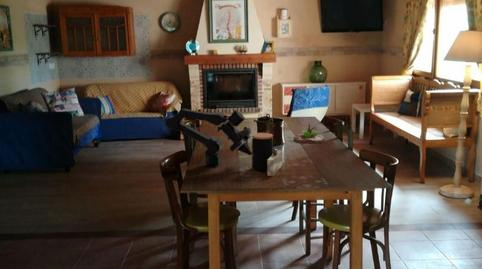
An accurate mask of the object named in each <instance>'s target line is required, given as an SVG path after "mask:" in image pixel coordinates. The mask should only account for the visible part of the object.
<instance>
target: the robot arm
mask: <svg viewBox="0 0 482 269" xmlns="http://www.w3.org/2000/svg"><path fill="white" fill-rule="evenodd" d="M184 118H189V119H194V120H198V121H199V120H200V121H206V122H208V123H210V124H211V125H215V126H217V133H218V132H221V131H222V132H223V133H224V134H225V135H226V136H227V139H228V141H229V140H230V141H231V142H232V144H231V145H230V146H229V150H230V151H231V152H232V153H233V152H234V151H236V150H237V151H239V152H242V153H244V154H246V155H249V156H252V149H251V148H250V146H249V139H251V137H252V135H250V134H252V132H251V131H252V130H251V127H249V126H247V125H246V126H243V129H242V130H239V129H236V128H235V127H239V126H240V125H241V124H242V122H244V120H246V118H245V116H244V115H243V113H240V112H239V111H238V110H237V109H235V110H234V111H233V112H232V114H230V115H225V114H224V113H222V112H204V111H199V110H193V109H187V108H182V109H181V110H180V111H179V112H177V113H176V114H175V115H171V116H170V117H168V118H167V119H165V126H166V128H168V129H171V130H173V131H177V132H178V131H179V132H181V133H183V134H184V135H186V136H188V137H190V138H191V139H194V140H196V141H197V142H199V143H201V144H202V145H204V147H205V148H206V150H205V151H204V154H205V164H204V166H205V167H211V168H212V167H213V168H216V167H218V166H219V165H220V164H221V159H220V158H221V157H220V156H219V154H220V153H219V152H220V150H221V149H222V147H223V143H222V141H221V140H220V138H218V137H216V136H215V135H211V136H207V135H205V134H203V133H201V131H198V130H197V129H195V128H193V127H191V126H189V125H188V124H186V123H185V122H184V121H183V119H184Z"/></svg>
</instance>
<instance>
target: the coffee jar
mask: <svg viewBox="0 0 482 269" xmlns="http://www.w3.org/2000/svg"><path fill="white" fill-rule="evenodd" d="M251 137H252V139H251V152H252V155H251V168H252V169H253V171H255V172H260V173H261V172H263V173H264V172H267V164H268V159H269V158H270V157H271V156H272V155H273V149H274V146H273V145H274V139H273V138H274V134H272V133H267V132H256V133H253V134H251Z"/></svg>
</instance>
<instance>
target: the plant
mask: <svg viewBox="0 0 482 269" xmlns="http://www.w3.org/2000/svg"><path fill="white" fill-rule="evenodd" d="M307 125H308V127H307V128H306V130H302V133H298V134H296V135H295V136H294V137H293V141H294V142H296V143H299V144H321V143H324V142H326V138H325V137H324V135H323V134H320V133H318V130H319V128H318V127H312V128H311V123H310V122H308V123H307ZM315 130H316V131H315Z"/></svg>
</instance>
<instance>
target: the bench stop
mask: <svg viewBox="0 0 482 269" xmlns="http://www.w3.org/2000/svg"><path fill="white" fill-rule="evenodd" d="M283 154H284V153H283V150H281V149H278V148H273V155H272V156H271V157H270V158H269V159H268V164H267V171H266V172H267V173H266V174H267V176H271V177H274V176H275V175H276V174H277V173H278V171H279V170H280V169H281V167H282V166H283Z"/></svg>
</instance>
